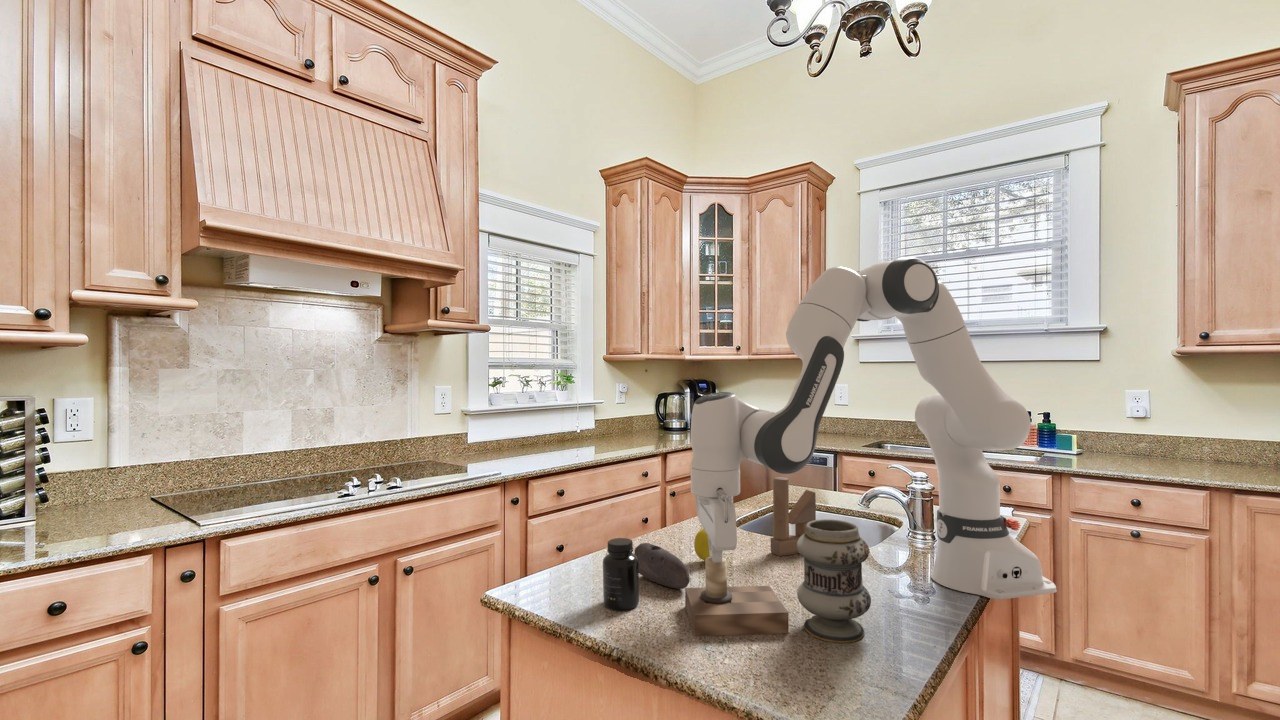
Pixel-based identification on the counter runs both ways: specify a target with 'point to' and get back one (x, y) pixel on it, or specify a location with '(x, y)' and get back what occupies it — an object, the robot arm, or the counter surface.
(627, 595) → the supplement bottle
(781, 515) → the wooden block structure
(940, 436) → the robot arm
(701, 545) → the lemon
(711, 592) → the maple peg
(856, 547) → the apothecary jar
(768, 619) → the walnut board
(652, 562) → the perforated stone tool
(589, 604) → the counter surface
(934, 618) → the counter surface
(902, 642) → the counter surface
